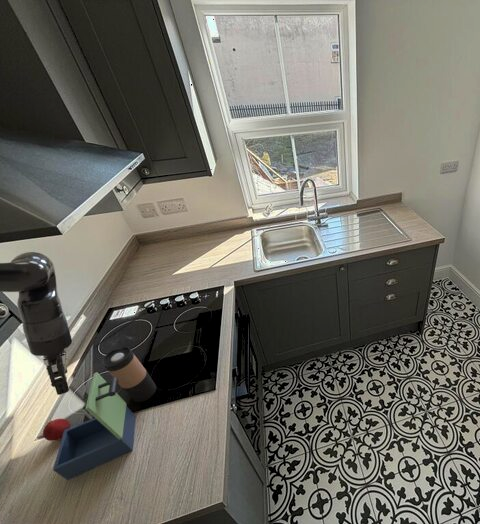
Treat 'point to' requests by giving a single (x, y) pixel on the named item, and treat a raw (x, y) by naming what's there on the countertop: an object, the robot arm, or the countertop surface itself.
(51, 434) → the onion
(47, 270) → the robot arm
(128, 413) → the box
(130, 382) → the travel mug
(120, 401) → the lunchbox lid
